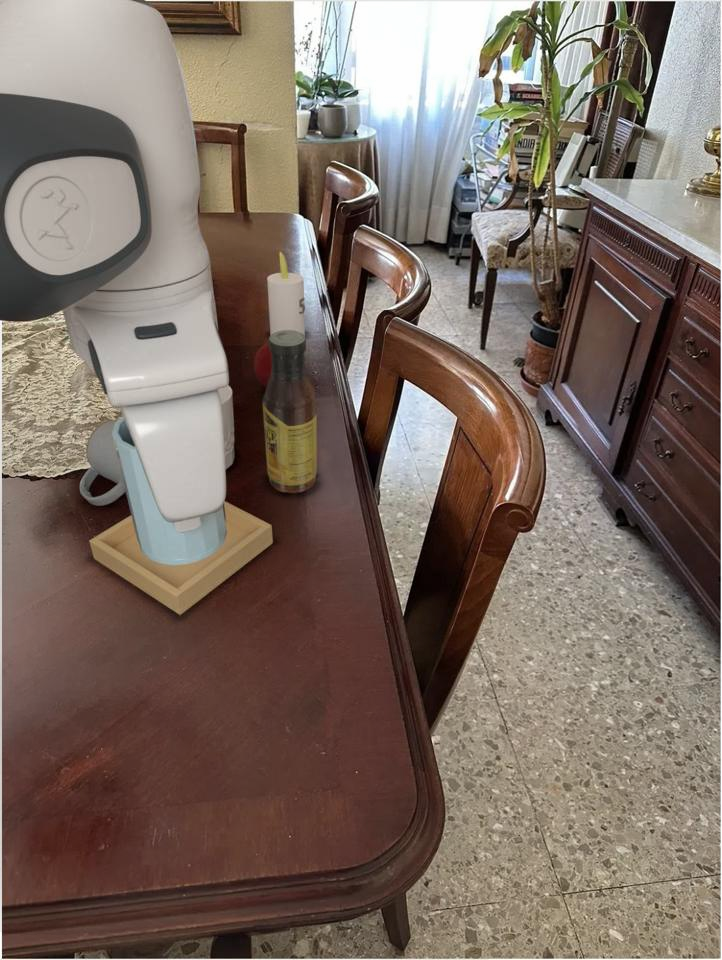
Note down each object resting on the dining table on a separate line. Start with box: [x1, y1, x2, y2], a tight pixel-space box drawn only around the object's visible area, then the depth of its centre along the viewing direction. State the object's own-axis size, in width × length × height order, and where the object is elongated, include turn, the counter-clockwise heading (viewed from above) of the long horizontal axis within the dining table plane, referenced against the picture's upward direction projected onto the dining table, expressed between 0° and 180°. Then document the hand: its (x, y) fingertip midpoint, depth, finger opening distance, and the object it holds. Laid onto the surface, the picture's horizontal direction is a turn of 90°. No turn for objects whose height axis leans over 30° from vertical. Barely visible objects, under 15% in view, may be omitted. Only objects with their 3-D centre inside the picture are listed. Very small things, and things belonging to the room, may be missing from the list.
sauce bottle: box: [262, 330, 318, 494], centre depth 78 cm, size 7×6×20 cm
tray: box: [88, 501, 274, 616], centre depth 72 cm, size 14×14×3 cm
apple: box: [253, 341, 272, 389], centre depth 102 cm, size 8×8×8 cm
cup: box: [112, 415, 227, 565], centre depth 48 cm, size 7×7×10 cm
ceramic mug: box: [79, 420, 126, 507], centre depth 80 cm, size 11×8×8 cm
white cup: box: [218, 384, 236, 470], centre depth 84 cm, size 8×8×10 cm
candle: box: [266, 251, 306, 337], centre depth 117 cm, size 6×6×15 cm
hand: (175, 492), depth 49 cm, fingers closed on cup, 7 cm apart
